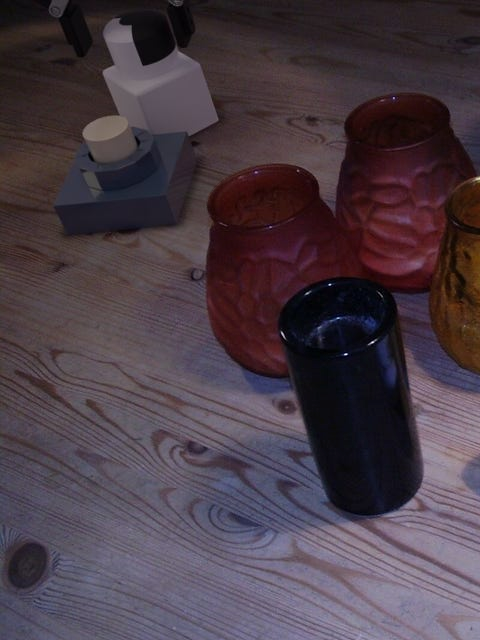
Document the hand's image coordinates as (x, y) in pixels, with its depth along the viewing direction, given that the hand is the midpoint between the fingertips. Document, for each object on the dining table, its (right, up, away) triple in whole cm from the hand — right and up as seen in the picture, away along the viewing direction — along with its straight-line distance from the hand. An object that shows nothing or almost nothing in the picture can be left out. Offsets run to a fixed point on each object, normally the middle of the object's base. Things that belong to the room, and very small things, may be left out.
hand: (136, 45), depth 94 cm
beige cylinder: (0, -11, -5) cm, 12 cm away
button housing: (+1, -15, -1) cm, 15 cm away
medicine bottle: (+1, -6, +7) cm, 10 cm away
